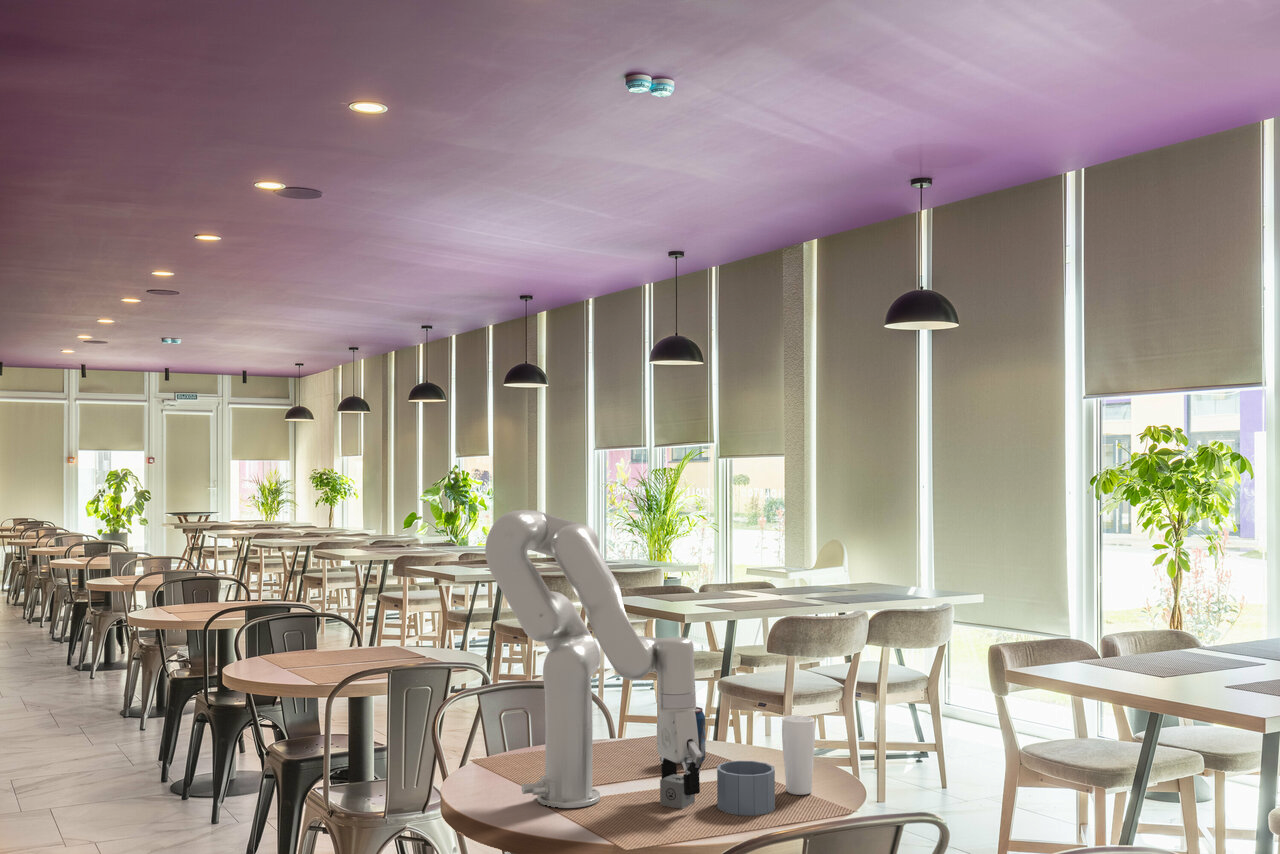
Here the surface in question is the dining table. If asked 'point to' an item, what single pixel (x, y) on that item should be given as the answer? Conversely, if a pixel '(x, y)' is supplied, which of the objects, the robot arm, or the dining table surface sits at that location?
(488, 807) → the dining table surface
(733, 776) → the cup
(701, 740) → the soda can
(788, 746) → the drinking glass
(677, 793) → the dice cube
